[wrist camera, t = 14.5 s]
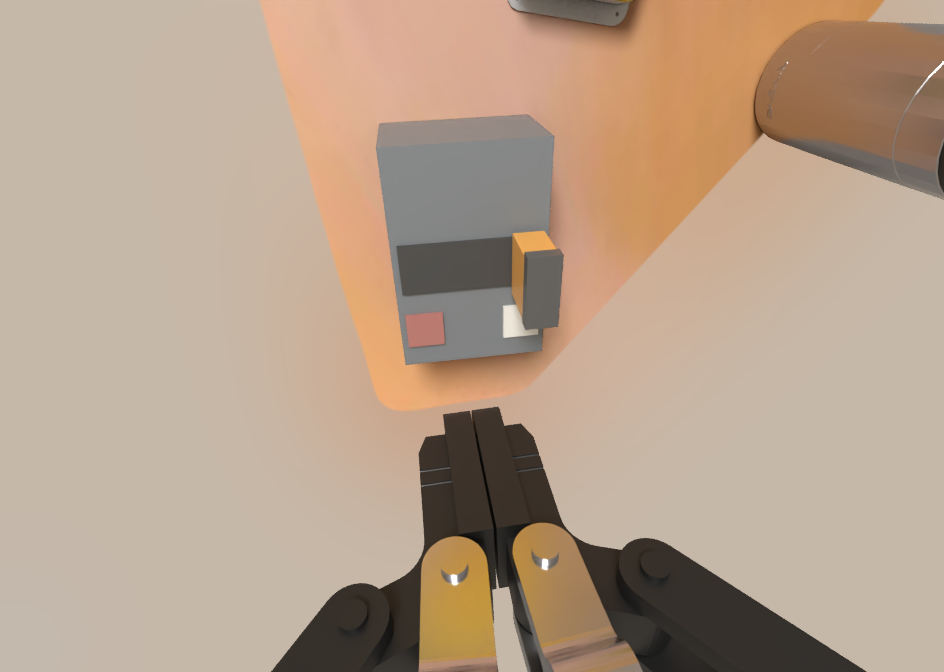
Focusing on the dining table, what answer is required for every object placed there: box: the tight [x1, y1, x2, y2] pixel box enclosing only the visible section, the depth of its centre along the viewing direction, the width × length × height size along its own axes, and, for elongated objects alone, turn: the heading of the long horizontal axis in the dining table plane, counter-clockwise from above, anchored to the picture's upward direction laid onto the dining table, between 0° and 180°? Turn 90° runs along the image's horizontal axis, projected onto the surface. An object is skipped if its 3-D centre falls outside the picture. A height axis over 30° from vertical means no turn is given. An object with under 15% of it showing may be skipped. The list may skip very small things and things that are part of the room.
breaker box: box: [376, 115, 554, 365], centre depth 41 cm, size 12×18×8 cm, turn 2°
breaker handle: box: [512, 231, 564, 330], centre depth 36 cm, size 2×6×5 cm, turn 2°
